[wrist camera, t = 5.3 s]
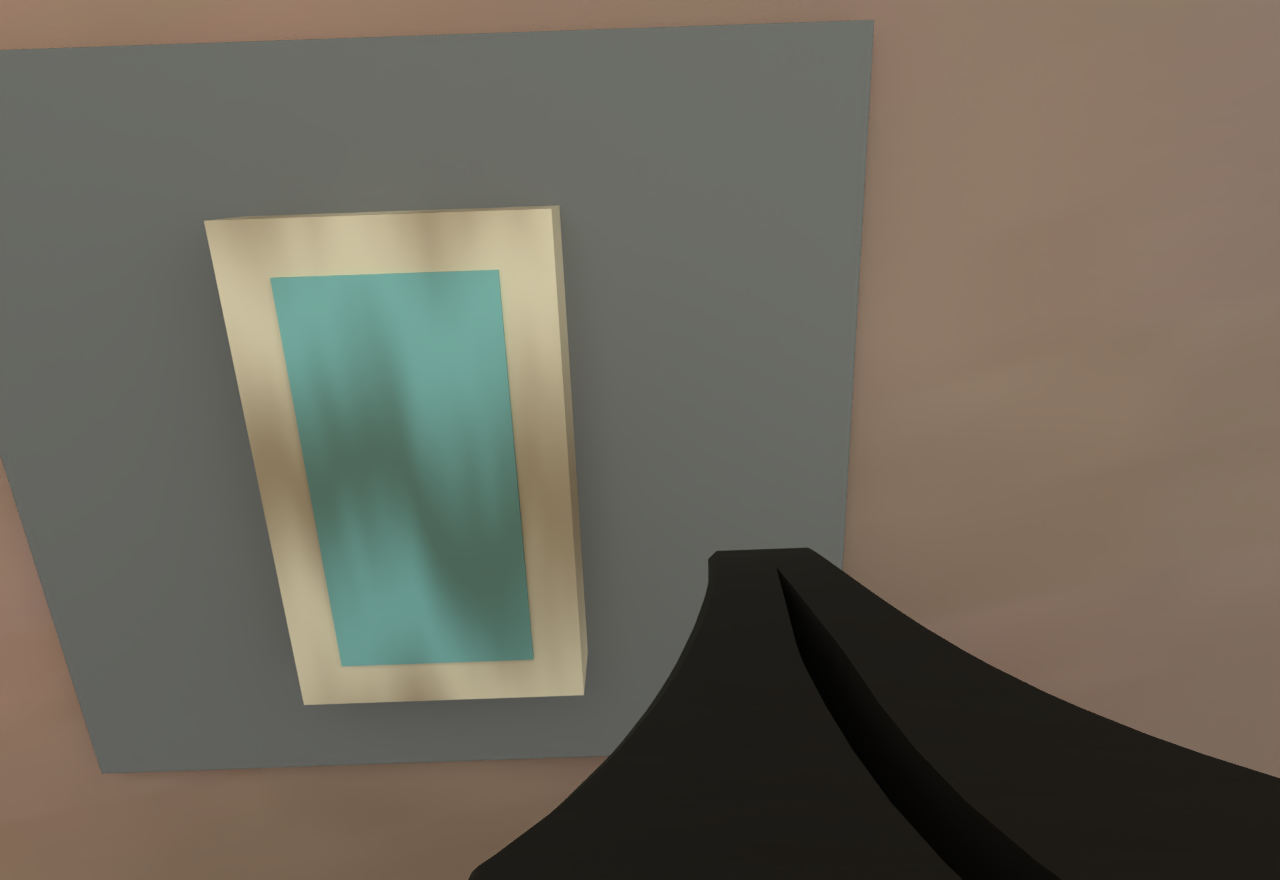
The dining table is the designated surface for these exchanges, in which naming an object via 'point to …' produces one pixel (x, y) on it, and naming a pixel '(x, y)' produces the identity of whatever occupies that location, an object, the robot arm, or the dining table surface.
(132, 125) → the mat
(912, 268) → the dining table surface
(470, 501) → the slab
